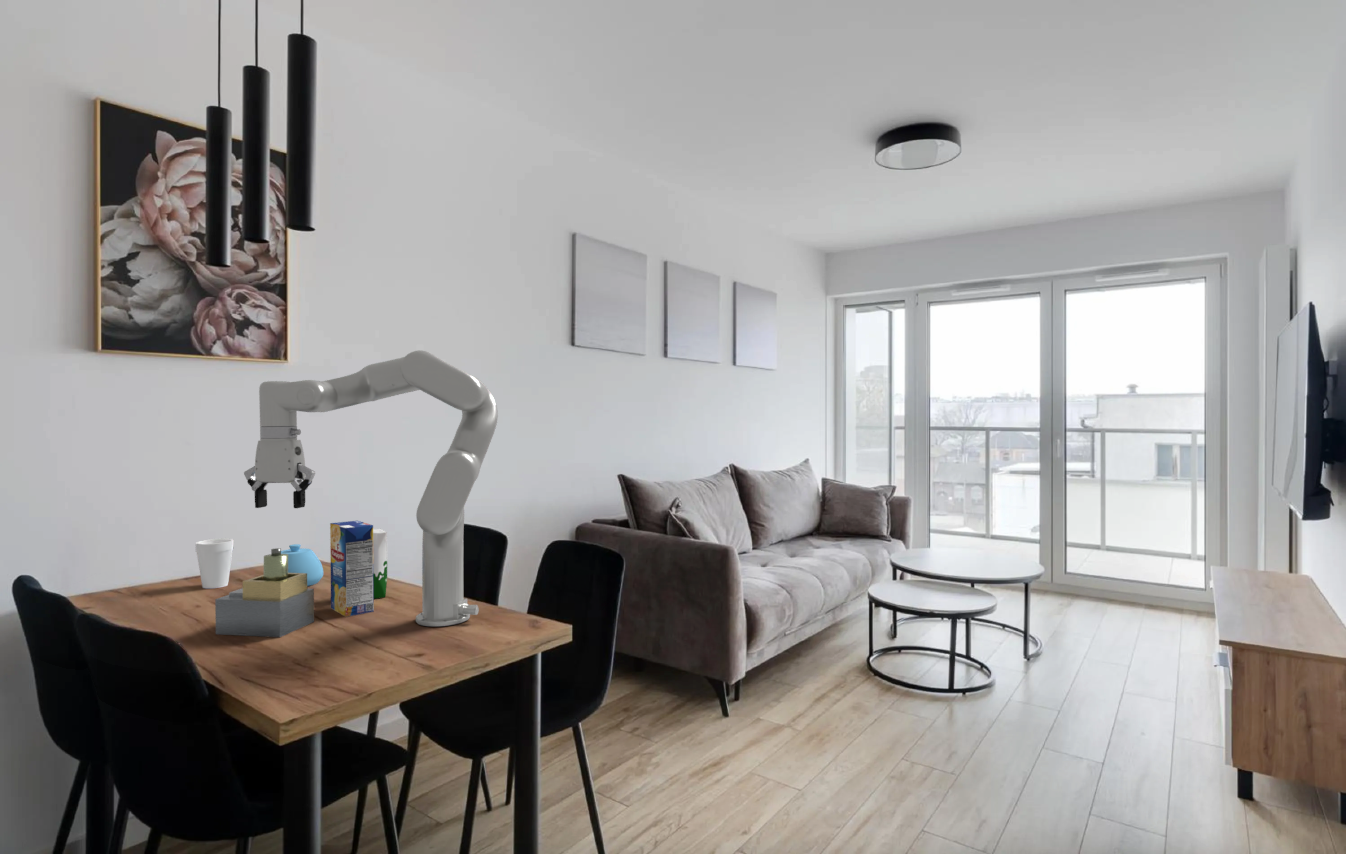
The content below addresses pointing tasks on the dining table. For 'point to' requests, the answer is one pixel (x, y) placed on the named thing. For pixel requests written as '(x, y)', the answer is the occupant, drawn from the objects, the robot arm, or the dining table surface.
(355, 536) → the beverage box
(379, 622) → the dining table surface
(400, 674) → the dining table surface
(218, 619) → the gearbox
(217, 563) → the foam cup
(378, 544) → the milk carton
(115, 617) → the dining table surface
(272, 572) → the green bottle
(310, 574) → the sugar bowl
